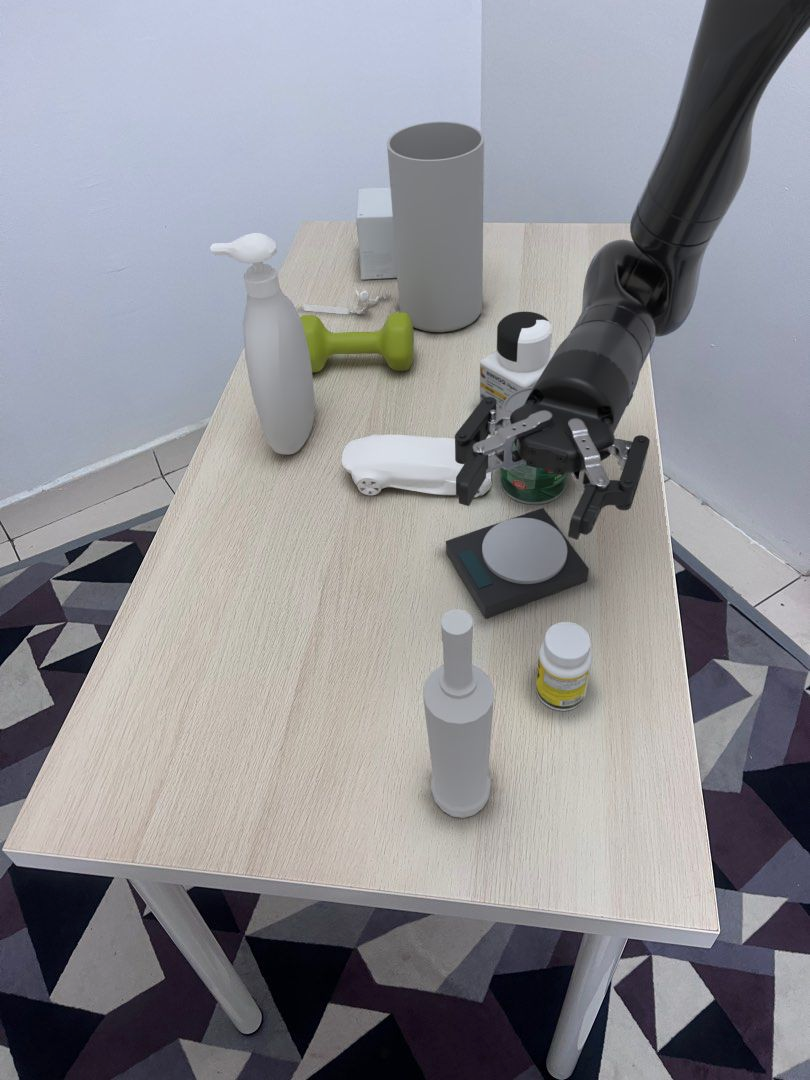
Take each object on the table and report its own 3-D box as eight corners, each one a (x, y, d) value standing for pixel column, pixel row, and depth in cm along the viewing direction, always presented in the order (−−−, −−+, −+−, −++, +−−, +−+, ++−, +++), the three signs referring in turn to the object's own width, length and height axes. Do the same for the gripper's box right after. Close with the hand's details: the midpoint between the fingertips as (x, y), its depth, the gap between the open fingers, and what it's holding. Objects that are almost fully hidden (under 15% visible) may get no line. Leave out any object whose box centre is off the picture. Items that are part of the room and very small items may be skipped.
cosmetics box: (401, 278, 128) (396, 215, 121) (361, 280, 129) (354, 218, 121) (400, 246, 135) (396, 184, 128) (362, 249, 136) (356, 187, 128)
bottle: (433, 822, 68) (418, 657, 49) (429, 766, 71) (415, 592, 53) (493, 818, 68) (501, 652, 49) (487, 762, 71) (492, 587, 53)
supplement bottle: (547, 661, 78) (554, 609, 72) (593, 681, 76) (604, 630, 70) (526, 699, 75) (531, 648, 69) (573, 720, 74) (582, 670, 67)
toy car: (492, 454, 99) (493, 426, 95) (491, 499, 93) (491, 471, 90) (350, 452, 101) (345, 424, 97) (340, 495, 95) (335, 467, 92)
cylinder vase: (421, 283, 127) (412, 117, 108) (494, 298, 123) (498, 127, 104) (386, 325, 120) (370, 153, 101) (462, 341, 115) (460, 166, 97)
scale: (542, 519, 91) (543, 503, 89) (587, 581, 84) (590, 565, 82) (445, 552, 88) (445, 537, 86) (485, 619, 82) (485, 603, 80)
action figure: (313, 300, 127) (297, 316, 122) (313, 266, 124) (297, 282, 118) (385, 311, 126) (372, 328, 120) (387, 278, 122) (374, 294, 117)
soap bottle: (272, 396, 109) (228, 204, 90) (330, 398, 108) (297, 204, 88) (244, 468, 100) (186, 270, 80) (306, 471, 99) (264, 271, 79)
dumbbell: (416, 347, 115) (414, 302, 110) (413, 380, 110) (410, 336, 105) (305, 349, 117) (297, 305, 111) (296, 382, 111) (287, 338, 106)
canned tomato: (568, 505, 92) (578, 431, 84) (500, 504, 93) (502, 432, 85) (564, 458, 97) (572, 385, 89) (499, 459, 98) (501, 386, 90)
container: (478, 409, 105) (478, 323, 95) (518, 382, 108) (522, 297, 98) (522, 435, 101) (527, 348, 91) (562, 407, 104) (571, 320, 94)
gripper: (508, 330, 67) (426, 449, 57) (680, 367, 62) (621, 505, 52) (505, 401, 72) (430, 521, 63) (662, 441, 67) (606, 577, 58)
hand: (517, 513), depth 58 cm, fingers open, 8 cm apart
